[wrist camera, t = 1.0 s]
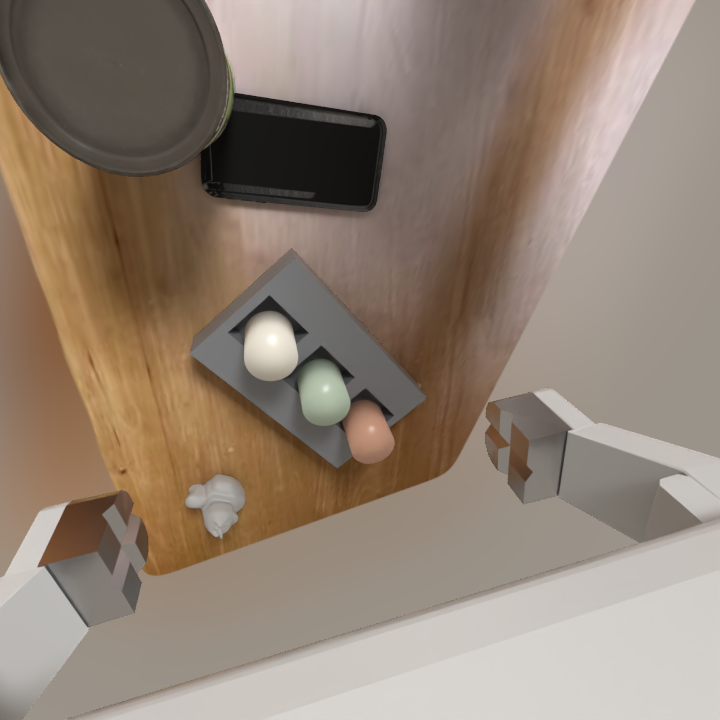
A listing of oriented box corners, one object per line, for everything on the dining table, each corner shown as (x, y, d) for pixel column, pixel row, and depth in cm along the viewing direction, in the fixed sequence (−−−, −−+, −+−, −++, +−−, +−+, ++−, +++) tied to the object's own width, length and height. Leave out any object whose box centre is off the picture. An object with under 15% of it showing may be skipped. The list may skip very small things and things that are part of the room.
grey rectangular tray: (291, 247, 41) (295, 258, 38) (416, 382, 51) (426, 398, 48) (193, 337, 43) (189, 353, 40) (332, 448, 53) (337, 468, 50)
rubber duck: (238, 504, 54) (236, 559, 48) (182, 495, 52) (172, 553, 45) (252, 471, 52) (252, 524, 46) (194, 461, 50) (186, 515, 43)
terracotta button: (365, 392, 46) (376, 420, 42) (389, 415, 48) (403, 444, 44) (333, 418, 47) (341, 448, 43) (359, 439, 49) (369, 470, 45)
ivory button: (269, 301, 39) (271, 323, 35) (303, 333, 41) (309, 357, 37) (234, 332, 40) (232, 358, 36) (268, 362, 42) (271, 390, 38)
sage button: (321, 350, 43) (329, 376, 38) (349, 377, 45) (360, 404, 41) (287, 378, 43) (291, 407, 39) (317, 404, 46) (324, 433, 41)
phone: (198, 87, 33) (388, 117, 37) (200, 88, 34) (385, 117, 38) (202, 197, 37) (375, 214, 40) (203, 195, 38) (372, 212, 41)
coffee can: (222, -6, 32) (204, -82, 19) (245, 153, 37) (242, 171, 24) (65, -7, 30) (-62, -92, 18) (111, 160, 35) (37, 182, 23)
